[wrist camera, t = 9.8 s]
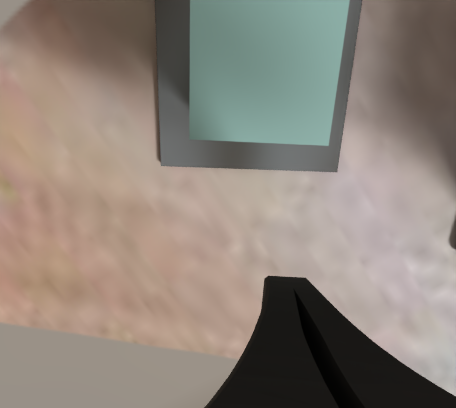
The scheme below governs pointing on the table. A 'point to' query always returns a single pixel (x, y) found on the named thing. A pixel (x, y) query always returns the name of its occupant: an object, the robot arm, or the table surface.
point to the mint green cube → (265, 69)
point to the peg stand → (230, 150)
